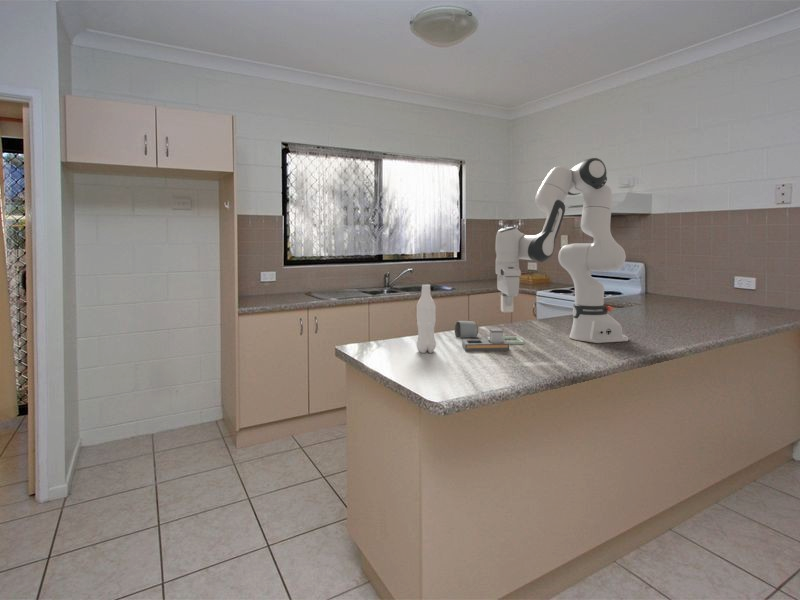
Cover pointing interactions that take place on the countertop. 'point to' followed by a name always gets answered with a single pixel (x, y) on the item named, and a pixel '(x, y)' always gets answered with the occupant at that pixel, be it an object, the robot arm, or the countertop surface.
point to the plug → (503, 304)
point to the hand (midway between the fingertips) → (507, 304)
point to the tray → (513, 338)
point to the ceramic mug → (466, 329)
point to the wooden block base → (484, 345)
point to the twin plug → (496, 336)
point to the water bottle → (426, 321)
